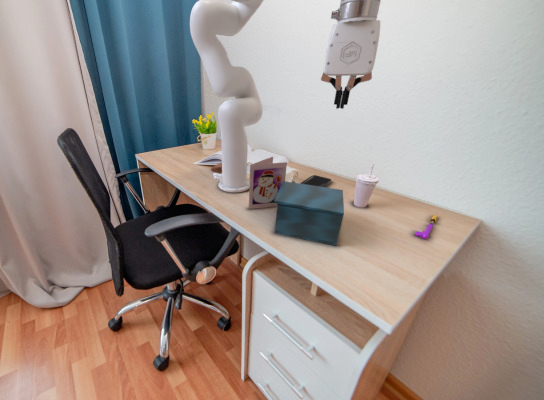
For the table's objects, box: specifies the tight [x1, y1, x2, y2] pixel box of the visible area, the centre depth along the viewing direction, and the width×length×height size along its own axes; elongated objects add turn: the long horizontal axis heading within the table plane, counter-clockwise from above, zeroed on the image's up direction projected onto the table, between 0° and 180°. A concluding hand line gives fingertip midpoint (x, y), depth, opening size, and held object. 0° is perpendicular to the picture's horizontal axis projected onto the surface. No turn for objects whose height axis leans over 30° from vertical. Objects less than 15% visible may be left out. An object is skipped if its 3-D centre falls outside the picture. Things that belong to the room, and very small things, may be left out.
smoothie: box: [353, 163, 380, 208], centre depth 76 cm, size 6×6×14 cm
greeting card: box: [248, 156, 288, 210], centre depth 78 cm, size 11×7×15 cm, turn 99°
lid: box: [274, 180, 345, 217], centre depth 65 cm, size 16×14×1 cm
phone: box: [299, 174, 332, 188], centre depth 93 cm, size 8×1×15 cm
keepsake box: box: [274, 204, 344, 247], centre depth 67 cm, size 16×14×9 cm
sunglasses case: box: [210, 161, 222, 174], centre depth 113 cm, size 18×7×7 cm, turn 140°
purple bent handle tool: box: [414, 214, 438, 240], centre depth 67 cm, size 3×1×16 cm
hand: (339, 107), depth 59 cm, fingers closed
